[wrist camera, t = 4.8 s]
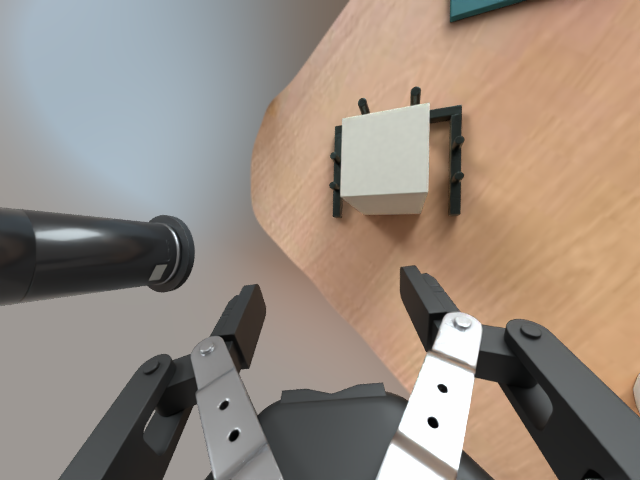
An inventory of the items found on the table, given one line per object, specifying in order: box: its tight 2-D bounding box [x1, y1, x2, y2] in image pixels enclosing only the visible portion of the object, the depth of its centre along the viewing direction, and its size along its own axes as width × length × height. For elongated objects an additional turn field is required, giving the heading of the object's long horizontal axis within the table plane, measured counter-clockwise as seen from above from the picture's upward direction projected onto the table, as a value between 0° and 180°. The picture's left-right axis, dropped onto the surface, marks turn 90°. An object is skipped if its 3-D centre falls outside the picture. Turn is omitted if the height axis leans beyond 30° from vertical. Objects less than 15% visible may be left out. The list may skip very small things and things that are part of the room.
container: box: [340, 103, 430, 215], centre depth 19 cm, size 6×6×9 cm
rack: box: [329, 87, 464, 218], centre depth 20 cm, size 12×10×6 cm
